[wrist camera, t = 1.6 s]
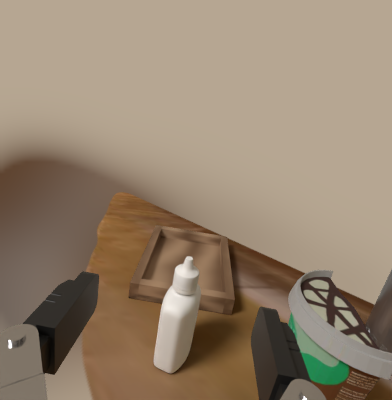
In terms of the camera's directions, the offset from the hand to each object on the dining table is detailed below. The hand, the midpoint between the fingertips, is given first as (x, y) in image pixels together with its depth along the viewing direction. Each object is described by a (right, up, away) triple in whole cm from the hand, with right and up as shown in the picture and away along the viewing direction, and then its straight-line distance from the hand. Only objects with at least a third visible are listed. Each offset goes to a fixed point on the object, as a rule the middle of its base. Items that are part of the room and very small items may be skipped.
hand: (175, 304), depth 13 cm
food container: (+12, -14, +17) cm, 25 cm away
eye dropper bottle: (-2, -12, +16) cm, 20 cm away
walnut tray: (-1, -6, +31) cm, 32 cm away
